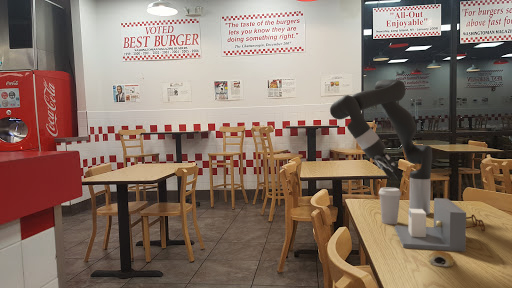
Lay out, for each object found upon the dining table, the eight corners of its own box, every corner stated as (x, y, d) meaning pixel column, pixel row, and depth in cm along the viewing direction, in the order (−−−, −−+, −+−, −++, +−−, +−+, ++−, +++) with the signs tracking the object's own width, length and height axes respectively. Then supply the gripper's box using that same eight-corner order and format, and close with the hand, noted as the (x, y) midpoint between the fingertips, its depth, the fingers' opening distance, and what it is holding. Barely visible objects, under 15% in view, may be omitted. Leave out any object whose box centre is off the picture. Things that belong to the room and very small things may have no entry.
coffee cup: (400, 220, 169) (400, 187, 168) (401, 226, 160) (401, 191, 159) (378, 218, 172) (378, 186, 171) (378, 224, 163) (378, 190, 162)
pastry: (433, 255, 125) (433, 244, 125) (455, 260, 121) (456, 248, 121) (428, 265, 117) (428, 253, 117) (452, 269, 114) (452, 257, 113)
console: (394, 228, 156) (395, 196, 155) (446, 231, 151) (447, 198, 151) (403, 247, 133) (403, 210, 132) (465, 251, 128) (466, 212, 127)
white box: (407, 231, 147) (408, 208, 146) (422, 231, 146) (422, 209, 145) (410, 236, 140) (411, 212, 140) (425, 237, 139) (426, 213, 138)
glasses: (485, 233, 150) (486, 221, 149) (450, 232, 152) (450, 220, 152) (473, 224, 163) (473, 213, 162) (441, 223, 165) (441, 212, 165)
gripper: (385, 135, 133) (412, 172, 133) (371, 137, 147) (396, 170, 147) (368, 148, 132) (396, 185, 132) (356, 149, 147) (381, 182, 147)
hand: (396, 177), depth 140 cm, fingers open, 8 cm apart
